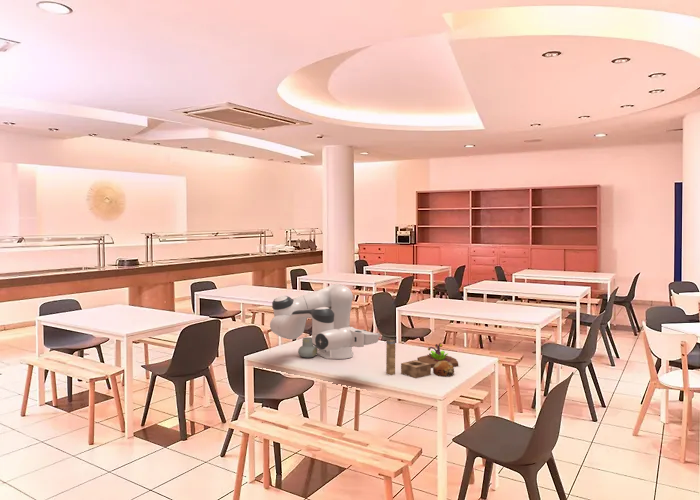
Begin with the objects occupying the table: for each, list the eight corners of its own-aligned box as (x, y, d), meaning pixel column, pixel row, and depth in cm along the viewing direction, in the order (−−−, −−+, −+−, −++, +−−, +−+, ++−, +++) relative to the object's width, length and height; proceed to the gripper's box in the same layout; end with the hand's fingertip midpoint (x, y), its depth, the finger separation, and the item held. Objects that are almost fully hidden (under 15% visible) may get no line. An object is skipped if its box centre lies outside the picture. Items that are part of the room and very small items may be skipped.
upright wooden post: (386, 373, 248) (386, 340, 248) (390, 372, 250) (391, 339, 250) (390, 374, 246) (390, 341, 245) (395, 373, 248) (395, 340, 247)
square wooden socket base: (401, 373, 248) (401, 363, 248) (415, 370, 255) (415, 360, 255) (416, 378, 241) (416, 367, 241) (430, 374, 247) (430, 364, 247)
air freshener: (310, 359, 274) (310, 341, 274) (296, 358, 277) (296, 339, 276) (318, 355, 284) (318, 337, 284) (304, 353, 287) (305, 335, 287)
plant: (428, 370, 256) (428, 347, 256) (413, 360, 275) (413, 339, 274) (464, 367, 261) (465, 345, 261) (447, 358, 280) (447, 337, 280)
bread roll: (452, 379, 252) (451, 362, 255) (457, 375, 243) (455, 358, 246) (432, 379, 252) (431, 362, 255) (436, 375, 242) (434, 358, 245)
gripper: (334, 340, 239) (357, 336, 248) (363, 347, 223) (387, 343, 232) (334, 326, 239) (357, 323, 247) (363, 333, 223) (387, 329, 232)
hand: (372, 333), depth 239 cm, fingers open, 8 cm apart
